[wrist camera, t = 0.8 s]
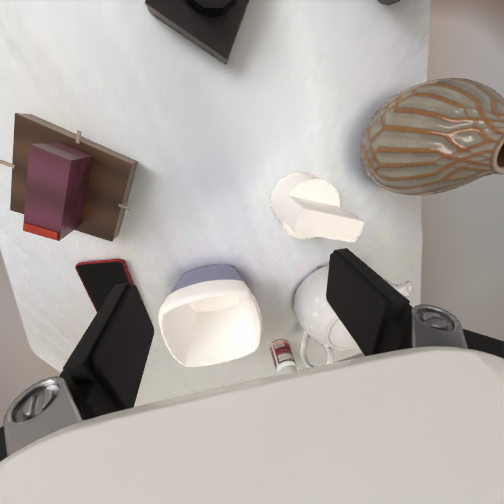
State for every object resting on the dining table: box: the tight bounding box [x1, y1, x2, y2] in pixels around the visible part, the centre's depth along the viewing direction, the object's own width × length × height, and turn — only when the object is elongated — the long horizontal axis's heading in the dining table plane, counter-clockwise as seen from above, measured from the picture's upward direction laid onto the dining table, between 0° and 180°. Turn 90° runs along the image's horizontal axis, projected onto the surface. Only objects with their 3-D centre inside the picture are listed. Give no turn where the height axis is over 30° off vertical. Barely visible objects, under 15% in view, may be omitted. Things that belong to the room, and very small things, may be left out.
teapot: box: [294, 265, 413, 368], centre depth 43 cm, size 19×18×14 cm
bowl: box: [158, 265, 262, 367], centre depth 38 cm, size 15×15×11 cm
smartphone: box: [75, 259, 132, 313], centre depth 39 cm, size 7×1×15 cm
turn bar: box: [23, 142, 93, 241], centre depth 26 cm, size 10×4×5 cm, turn 153°
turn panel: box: [0, 113, 137, 241], centre depth 29 cm, size 14×14×3 cm
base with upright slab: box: [270, 172, 364, 243], centre depth 32 cm, size 9×9×12 cm
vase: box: [360, 78, 504, 196], centre depth 27 cm, size 13×13×18 cm
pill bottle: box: [270, 339, 297, 375], centre depth 51 cm, size 5×5×8 cm
